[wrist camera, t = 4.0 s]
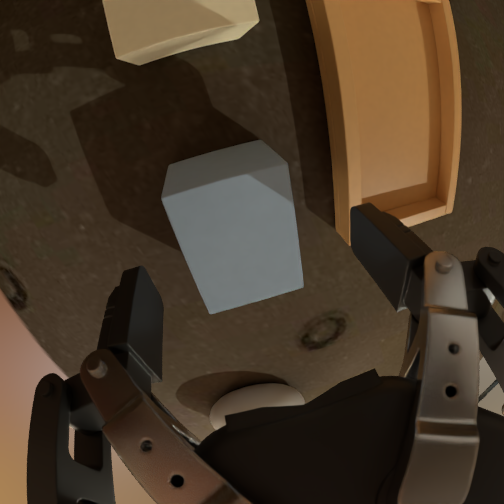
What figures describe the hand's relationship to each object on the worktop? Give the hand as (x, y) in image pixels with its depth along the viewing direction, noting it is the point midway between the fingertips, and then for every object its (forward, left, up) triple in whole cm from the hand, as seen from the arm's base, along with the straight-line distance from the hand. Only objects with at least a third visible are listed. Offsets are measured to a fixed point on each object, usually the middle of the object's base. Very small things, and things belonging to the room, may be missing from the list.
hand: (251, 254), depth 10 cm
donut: (-3, -22, -5) cm, 23 cm away
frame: (+10, +4, -5) cm, 11 cm away
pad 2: (0, 0, -5) cm, 5 cm away
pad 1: (0, +11, -5) cm, 12 cm away
